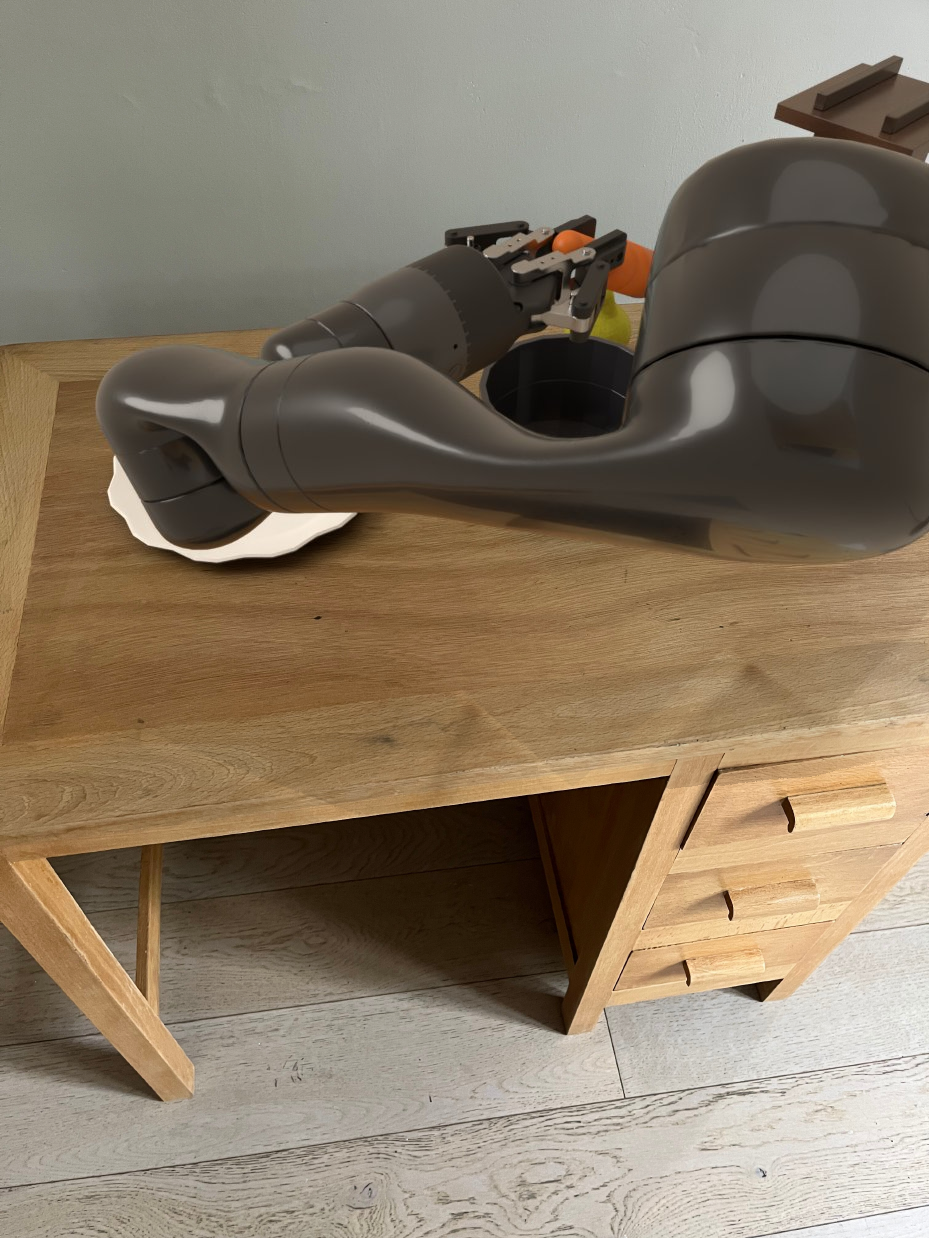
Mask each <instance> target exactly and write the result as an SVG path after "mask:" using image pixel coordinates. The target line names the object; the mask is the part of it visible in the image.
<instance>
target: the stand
mask: <svg viewBox="0 0 929 1238" xmlns="http://www.w3.org/2000/svg"><path fill="white" fill-rule="evenodd" d="M903 61H904V57H902V56H898V55H896V54H893V55H892V56H889V57H887V58H885V59H883V60H881V61H879V62H876V63H875V64H873V65H871V64H868V63H864V62H861V63H859V64H857V65H855V66H853V67H851V68H849V69H846V70H845V71H842V72H840V73H838V74H836V75H833V76H832V77H829V78H827V79H825V80H823V81H821V82H819V83H817V84H815V85H813V86H810V87H809V88H807V89H805V90H802V91H800V92H798V93H796V94H794V95H792V96H790V97H787V98H786V99H783V100H781V101H779V102H777V104H776V108H775V112H774V116H773V119H774V120H777V121H778V122H779V121H780V122H782V123H785V124H787V125H791V126H793V127H796V128H799V129H802V130H805V131H808V132H810V133H812V134H813V136H812V137H823V138H832V139H841V140H850V141H856V142H861V143H866V144H870V145H874V146H878V147H881V148H885V149H888V150H892V151H895V152H899V153H902V154H906V155H908V156H911V157H913V158H916V159H918V160H921V161H924V162H926V160H927V157H928V156H929V82H927V81H923V80H920V79H917V78H914V77H911V76H907V75H904V74H900V73H899V72H900V70H901V67H902V64H903Z"/></svg>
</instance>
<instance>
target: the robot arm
mask: <svg viewBox="0 0 929 1238" xmlns="http://www.w3.org/2000/svg"><path fill="white" fill-rule="evenodd" d="M597 222H598V221H597V218H595V217H594V216H591V215H589V214H585V215H582V216H580V217H578V218H575V219H570V220H568V221H566V222H564V223H562V224H560V225H558V226H556V227H554V228H552V227H549V226H542V227H538V228H537V229H534V230H532V229H530V223H529V222H527V221H526V220H512V221H505V222H504V221H503V222H497V223H496V222H495V223H490V224H481V225H472V226H465V227H457V228H449V229H447V230H445V232H444V245H443V247H444V248H442V249H439V250H438V251H435V252H433V253H431V254H428V255H426V256H424V257H422V258H419V259H418V260H416V261H413V262H411V263H410V264H409V263H408V264H407V265H405V266H403V267H401V268H399V269H397V270H394V271H392V272H390V273H388V274H385V275H383V276H381V277H379V278H376V279H374V280H372V281H371V282H369V283H366V284H364V286H362V287H360V288H359V289H357V290H355V291H354V292H353V293H351V294H350V295H348V296H347V297H345V298H343V299H342V300H339V302H336V303H335V304H332V305H330V306H328V307H326V308H324V309H322V310H319V311H317V312H315V313H313V314H311V315H308V316H307V317H304V318H302V319H300V320H297V321H295V322H293V323H291V324H288V325H286V326H285V327H282V328H280V329H278V330H277V331H275V332H274V333H272V334H271V335H269V336H268V337H267V338H266V339H265V340H264V342H263V343H262V344H261V347H260V348H259V352H258V357H253V356H249V355H244V354H240V353H236V352H233V351H229V350H226V349H221V348H217V347H212V346H205V345H199V344H189V343H188V344H185V343H176V344H175V343H174V344H163V345H157V346H151V347H147V348H144V349H140V350H137V351H135V352H132V353H130V354H129V355H127V356H125V357H124V358H122V359H120V360H119V361H118V362H116V363H115V364H114V365H112V367H111V368H110V369H109V370H108V371H107V372H106V374H104V376H103V378H102V379H101V381H100V384H99V386H98V387H97V391H96V396H95V404H94V405H95V415H96V419H97V420H96V421H97V422H98V425H99V428H100V430H101V433H102V434H103V436H104V438H105V440H106V442H107V443H108V446H109V447H110V449H111V451H112V452H113V454H114V456H116V458H117V460H118V461H119V463H120V465H121V467H122V468H123V470H124V472H125V474H126V475H127V477H128V479H129V481H130V483H131V484H132V486H133V488H134V490H135V491H136V493H137V495H138V497H139V499H141V503H142V505H143V506H144V508H145V510H146V512H147V514H148V516H149V517H150V519H151V521H152V522H153V524H154V526H155V528H156V529H157V530H158V532H159V533H160V534H161V536H162V537H163V538H164V539H165V540H166V541H168V542H169V543H171V544H173V545H175V546H178V547H181V548H184V549H190V550H209V549H215V548H219V547H223V546H225V545H228V544H231V543H233V542H235V541H237V540H239V539H240V538H242V537H244V536H245V535H247V534H248V533H250V532H251V531H252V530H254V529H255V528H256V527H257V526H259V525H260V524H261V523H262V522H263V521H264V520H265V519H266V518H267V517H268V516H269V515H270V514H271V513H273V512H277V513H286V514H302V513H357V514H359V513H361V514H363V513H385V514H386V513H387V514H388V513H390V514H405V515H413V516H414V515H415V516H423V517H429V518H437V519H445V520H451V521H454V522H455V521H456V522H460V523H461V522H462V523H468V524H473V525H478V526H484V527H490V528H496V529H501V530H508V531H514V532H521V533H527V534H535V535H540V536H546V537H547V536H548V537H553V538H559V539H560V538H561V539H567V540H573V541H581V542H589V543H590V542H591V543H596V544H603V545H611V546H617V547H625V548H631V549H638V550H646V551H652V552H660V553H666V554H667V553H668V554H673V555H682V556H688V557H697V558H705V559H712V560H722V561H731V562H741V563H753V564H754V563H755V564H769V565H770V564H772V565H829V564H838V563H840V564H841V563H848V562H857V561H858V562H859V561H863V560H867V559H868V560H869V559H872V558H877V557H881V556H885V555H888V554H891V553H894V552H897V551H900V550H902V549H904V548H906V547H908V546H910V545H911V544H913V543H915V542H917V541H918V540H921V538H923V537H924V536H926V534H928V533H929V163H928V162H926V161H925V162H924V161H921V160H918V159H916V158H913V157H911V156H908V155H906V154H902V153H899V152H895V151H892V150H888V149H885V148H881V147H878V146H874V145H870V144H866V143H861V142H856V141H850V140H841V139H832V138H823V137H813V136H793V137H777V138H768V139H765V140H761V141H756V142H750V143H746V144H742V145H739V146H737V147H734V148H732V149H730V150H728V151H726V152H724V153H721V154H719V155H717V156H714V157H712V158H710V159H708V160H707V161H706V162H704V163H703V164H702V165H701V166H700V167H698V168H697V169H696V170H695V171H694V172H692V173H691V174H690V175H689V176H688V177H687V178H685V179H684V180H683V182H681V184H680V185H679V187H678V188H677V189H676V190H675V193H674V194H673V196H672V198H671V199H670V201H669V203H668V205H667V207H666V211H665V213H664V215H663V218H662V221H661V223H660V227H659V229H658V233H657V238H656V241H655V245H654V249H653V251H654V253H653V257H652V262H651V266H650V271H649V275H648V280H647V285H646V290H645V298H644V301H643V305H642V308H641V309H642V310H641V314H640V319H639V327H638V331H637V335H636V336H637V337H636V342H635V347H634V351H635V352H634V357H633V362H632V368H631V373H630V378H629V384H628V389H627V392H626V397H625V402H624V407H623V413H622V420H621V425H620V427H619V429H618V430H616V431H615V432H612V433H609V434H604V435H600V436H593V437H584V438H561V437H554V436H548V435H544V434H541V433H537V432H534V431H532V430H529V429H527V428H525V427H523V426H521V425H519V424H518V423H516V422H514V421H512V420H511V419H509V418H507V417H506V416H504V415H502V414H501V413H499V412H498V411H497V410H495V409H494V408H492V407H491V406H490V405H488V404H487V403H485V402H484V401H483V400H481V399H480V398H479V396H478V395H476V394H475V393H474V392H472V391H471V390H469V389H468V388H467V387H466V386H464V385H463V384H462V383H461V382H462V381H464V380H466V379H468V378H469V377H471V376H473V375H475V374H476V373H478V372H480V371H483V369H484V368H485V367H487V366H489V365H491V364H492V363H494V362H496V361H498V360H499V359H501V358H502V357H503V356H504V355H505V354H506V353H507V352H508V350H509V349H510V348H511V346H512V345H513V344H514V343H516V342H517V341H518V340H519V338H521V337H523V336H526V335H530V334H539V333H541V332H543V331H545V330H546V329H547V328H548V327H549V326H550V327H556V328H561V329H564V330H565V329H570V336H569V338H570V340H571V341H573V342H575V343H584V342H586V341H587V340H588V338H589V336H590V334H591V332H592V329H593V327H594V325H595V322H596V320H597V318H598V315H599V313H600V311H601V309H602V306H603V304H604V302H605V297H606V290H607V283H608V276H609V272H610V271H612V270H614V269H615V268H617V267H619V266H621V265H622V264H623V262H624V259H625V253H626V246H627V242H626V241H627V240H628V233H627V232H625V231H623V230H621V229H618V228H617V229H613V230H612V231H610V232H608V233H606V234H604V235H602V236H600V237H598V238H595V237H596V230H597ZM566 230H573V231H576V232H578V233H581V234H584V235H586V236H589V237H591V238H594V239H596V240H594V241H592V242H590V243H588V244H586V245H585V247H582V248H579V249H577V250H574V251H572V252H569V253H567V254H563V253H562V252H560V251H554V252H552V245H553V241H554V239H555V238H556V236H557V235H558V234H560V233H561V232H563V231H566ZM505 238H508V239H506V240H505V241H503V242H501V243H500V244H498V245H497V243H498V240H500V239H505ZM573 272H574V276H573V277H572V274H573Z"/></svg>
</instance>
